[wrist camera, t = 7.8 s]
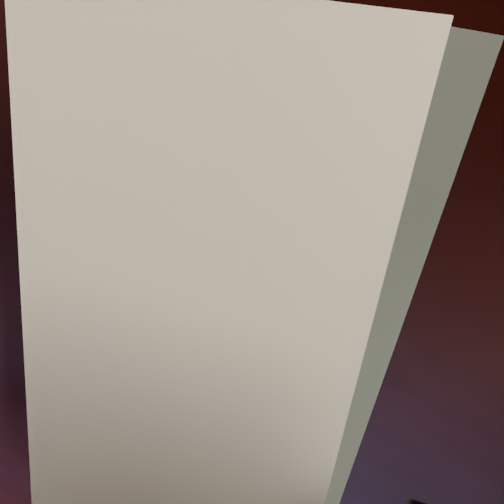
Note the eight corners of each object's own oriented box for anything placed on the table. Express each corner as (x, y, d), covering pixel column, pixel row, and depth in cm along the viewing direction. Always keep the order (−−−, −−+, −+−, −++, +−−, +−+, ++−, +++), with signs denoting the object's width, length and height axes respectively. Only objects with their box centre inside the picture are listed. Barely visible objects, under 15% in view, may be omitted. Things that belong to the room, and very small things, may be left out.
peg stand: (329, 508, 19) (322, 651, 14) (107, 438, 20) (32, 548, 15) (490, 40, 12) (580, 8, 8) (147, -21, 14) (36, -81, 9)
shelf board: (279, 610, 14) (261, 740, 11) (98, 554, 15) (40, 661, 12) (418, 40, 8) (454, 15, 5) (109, 1, 9) (2, -39, 6)
